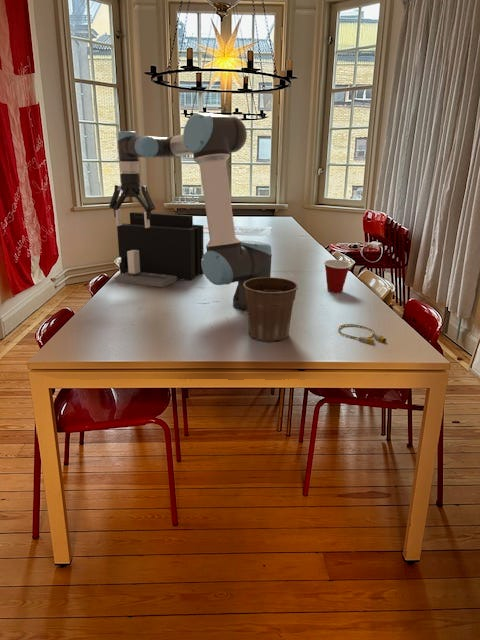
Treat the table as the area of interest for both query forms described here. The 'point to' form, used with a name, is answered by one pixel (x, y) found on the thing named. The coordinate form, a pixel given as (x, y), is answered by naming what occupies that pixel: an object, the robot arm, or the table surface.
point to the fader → (133, 262)
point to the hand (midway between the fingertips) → (133, 226)
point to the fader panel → (146, 279)
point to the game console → (163, 244)
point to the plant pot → (269, 307)
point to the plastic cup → (336, 274)
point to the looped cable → (365, 339)
